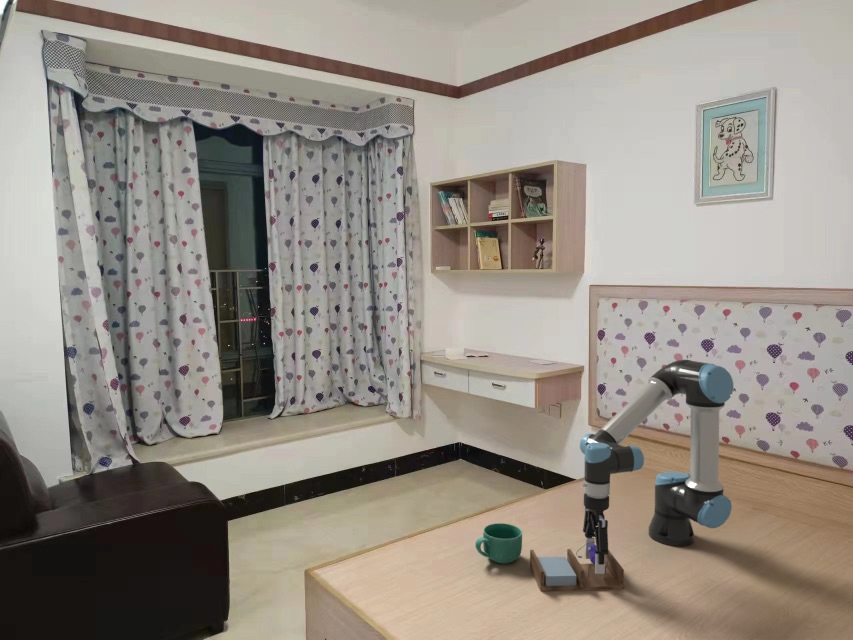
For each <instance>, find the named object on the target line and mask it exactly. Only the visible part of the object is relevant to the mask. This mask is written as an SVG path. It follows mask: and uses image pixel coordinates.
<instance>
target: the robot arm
mask: <svg viewBox="0 0 853 640" xmlns="http://www.w3.org/2000/svg"><path fill="white" fill-rule="evenodd" d="M733 380H734V379H733V377H732V375H731V373H730V372H729V371H728V370H727V369H726V368H725V367H723V366H720V365H717V364H713V363H710V362H709V363H708V362H702V361H697V360H691V359H690V360H689V359H679V360H675V361H672V362H671V363H668V364H666V365H664V366H663V367H662V368H660V369H659V370H657V371H656V372H655V373H654V374H652V376H650V377H649V378H648V380H647V384H646V385H645V386H644V387H643V388H642V389H641V390H640V391H639V392H638V393H637V394H636V395H635V396H634V397H632V398H631V400H630V401H629V402H628V403H627V404H625V405H624V406H623V407H622V408H621V409H620V410H619V411H618V412H617V413H616V414H615V415H614V416H613V417H611V419H609V420H608V421H607V423H605V424H604V425H603V426H602V427H601V428H600V429H599V430H598V431H597V432H596V433H587V434H584V435H583V436H582V437H581V439H580V441H579V449H580V451H581V454H583V455H584V456H583V457H584V476H583V477H584V479H583V480H584V483H582V487H583V488H584V489H583V493H584V494H583V507H584V518H583V519H584V520H583V525H582V526H583V527H582V528H583V529H582V532H583V533H584V536H585V539H584V540H585V544H584V545H585V546H584V548H585V549H584V558H585V560H590V553H589V551H588V548H589V547H590V546H591V545H593V544H595V545H596V547H597V552H595V554H596V556H595V573H596V574H605V554H609V552H608V550H609V536H608V535H609V534H608V526H609V525H608V524H609V522H608V520H607V519H605V518H606V517H605V514H604V512H605V511H607V510H608V509H609V508H610V494H611V493H610V491H611V475H614V474H620V473H621V474H622V473H629V472H630V473H632V472H635V471H638V470H641V469H642V468H643V467H644V463H645V456H644V454H643V451H642V450H641V448H639V446H635V445H627V446H623V445H622V444H621V443H622V442H624V440H625V439H626V438H627V437H628V436H629V435H630V434H632V432H633V431H634V430H635V429H637V428H638V427H639V426H640V424H642V423H643V422H644V421H645V420H646V419H647V418H648V417H649V416H650V415H651V414H652V413H653V412H654V411H655V410H656V409H657V408H658V407H659V406H661V405H662V403H664V402H665V401H669V400H672V398H674V397H675V396H676V395H679V394H682V395H685V404H686V405H687V406H688V408H690V445H689V446H690V447H689V449H690V452H689V453H690V455H689V457H690V458H689V461H690V463H689V464H690V465H689V466H690V467H689V470H690V471H689V474H688V473H687V472H681V471H664V472H659V473H658V474H657V475H656V477H655V483H654V513H653V516H652V518H651V520H650V523H649V526H648V535H649V537H650V538H651V539H652V540H654V541H655V542H658V543H661V544H664V545H668V546H675V547H684V546H685V547H686V546H690V545H692V544H693V543H694V542H695V532H694V528H693V526H692V523H691V521H692V522H696V523H698V525H700V526H703V527H706V528H708V529H716V528H719V527H721V526H723V525H724V524H725V523H726V521H728V519H729V518H730V515H731V513H732V508H733V507H732V502H731V500H730V499H729V497H727V496H726V495H724V484H723V483H722V482H721V481H720V480H719V478H720V477H719V474H720V473H719V471H720V470H719V469H720V467H719V465H720V464H719V462H720V459H719V457H720V455H719V454H720V410H721V409H722V408H724V407H725V405H726V404H725V403H726V402H728V400H730V398H732V397H731V395H733V392H734V381H733ZM620 444H621V445H620ZM591 542H593V543H591ZM588 543H589V544H588ZM586 544H587V545H586Z"/></svg>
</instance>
